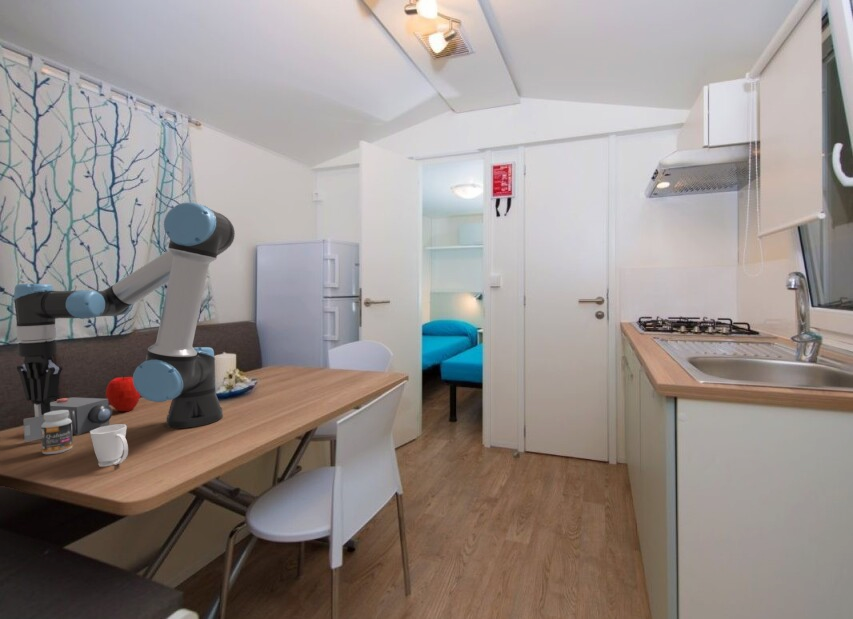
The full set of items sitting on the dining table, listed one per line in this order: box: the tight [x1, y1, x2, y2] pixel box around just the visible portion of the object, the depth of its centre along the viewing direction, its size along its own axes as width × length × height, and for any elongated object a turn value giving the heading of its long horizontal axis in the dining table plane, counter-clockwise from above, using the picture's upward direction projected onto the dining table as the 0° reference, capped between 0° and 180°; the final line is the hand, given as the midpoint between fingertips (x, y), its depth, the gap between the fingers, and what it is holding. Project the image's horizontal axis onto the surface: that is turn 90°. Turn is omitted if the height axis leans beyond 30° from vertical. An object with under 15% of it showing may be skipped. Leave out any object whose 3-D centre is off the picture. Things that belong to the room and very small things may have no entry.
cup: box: [89, 423, 129, 467], centre depth 91 cm, size 7×10×8 cm
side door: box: [23, 410, 76, 443], centre depth 107 cm, size 10×2×6 cm, turn 134°
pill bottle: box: [41, 410, 74, 455], centre depth 100 cm, size 6×6×10 cm
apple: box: [105, 375, 142, 412], centre depth 135 cm, size 10×10×12 cm
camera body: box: [50, 396, 113, 436], centre depth 117 cm, size 17×9×9 cm, turn 78°
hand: (43, 425), depth 108 cm, fingers closed
